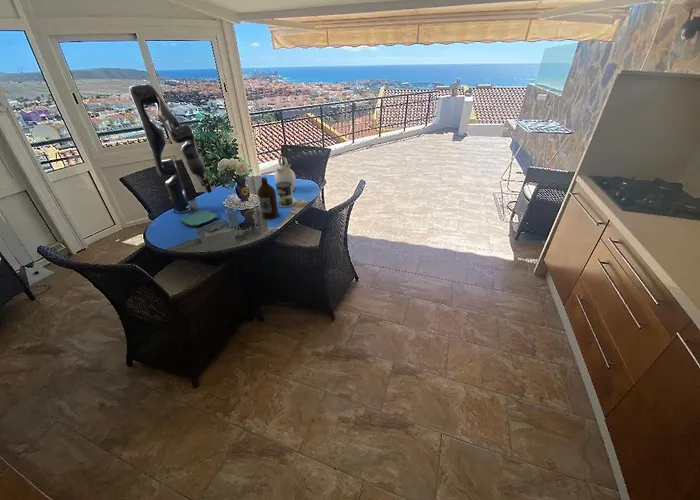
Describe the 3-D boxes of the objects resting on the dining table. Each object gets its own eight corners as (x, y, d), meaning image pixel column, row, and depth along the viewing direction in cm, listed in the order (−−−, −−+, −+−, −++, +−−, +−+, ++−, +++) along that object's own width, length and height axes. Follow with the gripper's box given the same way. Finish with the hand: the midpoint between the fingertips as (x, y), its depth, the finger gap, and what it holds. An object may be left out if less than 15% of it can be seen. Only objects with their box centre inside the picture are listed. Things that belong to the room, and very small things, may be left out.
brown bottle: (267, 211, 191) (259, 174, 178) (282, 212, 189) (275, 175, 176) (259, 218, 183) (251, 180, 169) (275, 220, 181) (267, 181, 167)
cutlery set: (206, 210, 195) (205, 207, 193) (233, 222, 180) (232, 219, 178) (176, 222, 182) (175, 218, 180) (203, 236, 166) (201, 232, 165)
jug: (289, 184, 232) (285, 152, 219) (300, 189, 223) (297, 156, 209) (272, 189, 224) (267, 156, 210) (283, 195, 214) (278, 160, 200)
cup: (227, 226, 175) (222, 211, 169) (232, 222, 180) (228, 207, 174) (235, 227, 174) (231, 212, 168) (241, 223, 179) (237, 208, 173)
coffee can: (289, 208, 195) (286, 188, 188) (276, 205, 199) (272, 186, 191) (296, 202, 203) (294, 182, 196) (284, 200, 207) (281, 180, 199)
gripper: (184, 161, 160) (196, 186, 171) (193, 171, 152) (205, 197, 164) (197, 156, 163) (208, 181, 175) (207, 166, 155) (218, 191, 167)
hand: (207, 188), depth 169 cm, fingers open, 8 cm apart
